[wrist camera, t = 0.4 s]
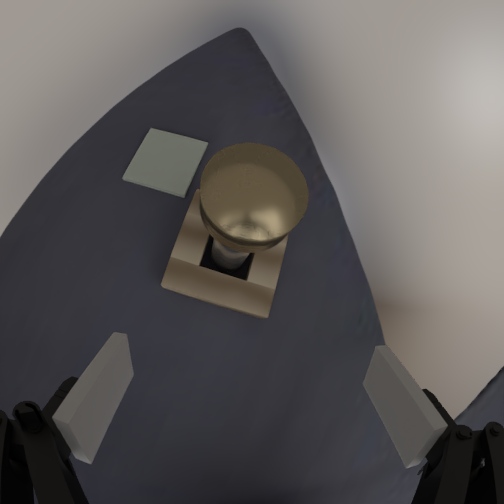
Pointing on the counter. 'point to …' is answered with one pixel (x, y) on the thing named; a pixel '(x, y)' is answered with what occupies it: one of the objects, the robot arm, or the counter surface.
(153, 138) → the rubber mat
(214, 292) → the plate
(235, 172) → the steel peg
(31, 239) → the counter surface
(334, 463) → the counter surface
